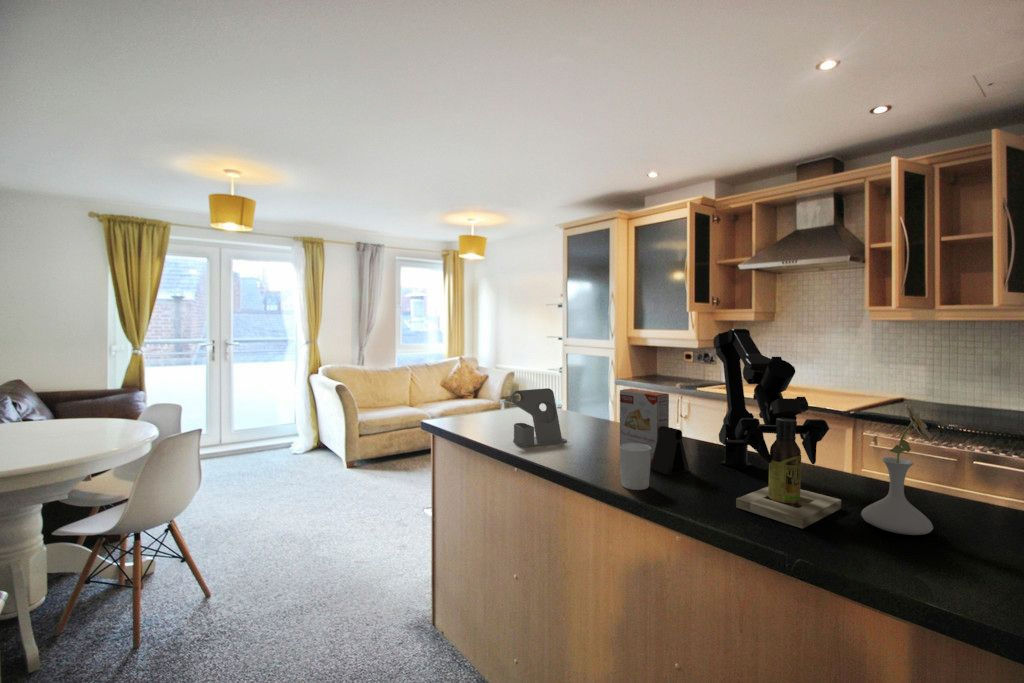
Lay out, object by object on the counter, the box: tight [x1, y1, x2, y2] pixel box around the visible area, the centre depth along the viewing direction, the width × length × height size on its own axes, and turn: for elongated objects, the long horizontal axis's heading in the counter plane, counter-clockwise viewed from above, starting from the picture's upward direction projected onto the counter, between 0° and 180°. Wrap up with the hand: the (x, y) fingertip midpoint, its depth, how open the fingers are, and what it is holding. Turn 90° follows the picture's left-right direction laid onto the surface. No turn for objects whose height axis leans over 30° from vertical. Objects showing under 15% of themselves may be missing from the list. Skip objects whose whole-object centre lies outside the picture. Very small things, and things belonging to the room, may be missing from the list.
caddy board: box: [735, 486, 842, 529], centre depth 109 cm, size 18×14×2 cm
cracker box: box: [619, 388, 670, 466], centre depth 147 cm, size 14×6×21 cm, turn 37°
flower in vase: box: [860, 403, 934, 536], centre depth 98 cm, size 13×11×25 cm
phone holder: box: [510, 388, 568, 449], centre depth 170 cm, size 17×10×18 cm, turn 116°
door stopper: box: [650, 426, 690, 476], centre depth 137 cm, size 9×6×12 cm, turn 120°
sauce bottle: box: [767, 418, 802, 508], centre depth 109 cm, size 6×6×20 cm
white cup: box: [618, 443, 651, 491], centre depth 124 cm, size 8×8×10 cm
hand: (791, 462), depth 108 cm, fingers open, 9 cm apart
